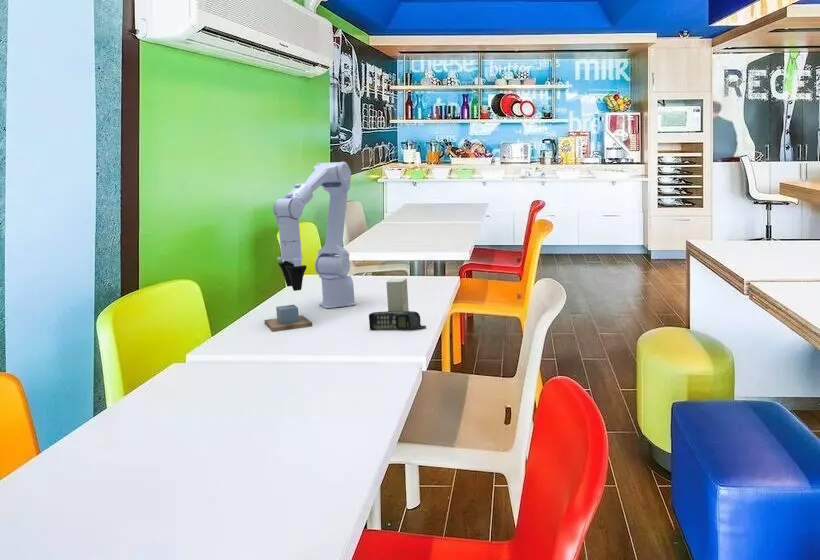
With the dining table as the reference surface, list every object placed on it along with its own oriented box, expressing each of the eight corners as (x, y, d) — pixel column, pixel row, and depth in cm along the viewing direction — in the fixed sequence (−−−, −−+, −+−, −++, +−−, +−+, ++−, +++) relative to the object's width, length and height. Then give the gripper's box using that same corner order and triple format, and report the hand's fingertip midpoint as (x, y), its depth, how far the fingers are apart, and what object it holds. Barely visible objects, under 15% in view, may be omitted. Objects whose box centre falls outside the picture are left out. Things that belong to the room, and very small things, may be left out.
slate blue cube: (294, 318, 210) (293, 304, 209) (299, 321, 205) (298, 307, 205) (277, 320, 208) (276, 306, 207) (281, 324, 203) (280, 309, 203)
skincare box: (404, 326, 199) (401, 281, 196) (388, 326, 200) (385, 281, 198) (409, 321, 205) (407, 277, 202) (394, 320, 206) (391, 277, 204)
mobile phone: (367, 313, 195) (423, 311, 193) (370, 311, 198) (425, 309, 196) (369, 331, 196) (425, 330, 193) (371, 329, 199) (426, 327, 196)
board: (302, 318, 214) (301, 305, 213) (312, 326, 204) (311, 312, 203) (264, 323, 210) (263, 310, 209) (272, 331, 200) (271, 317, 199)
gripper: (270, 239, 214) (274, 285, 216) (282, 244, 200) (286, 294, 203) (294, 237, 216) (298, 283, 219) (307, 242, 203) (311, 290, 206)
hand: (294, 288), depth 211 cm, fingers open, 7 cm apart
